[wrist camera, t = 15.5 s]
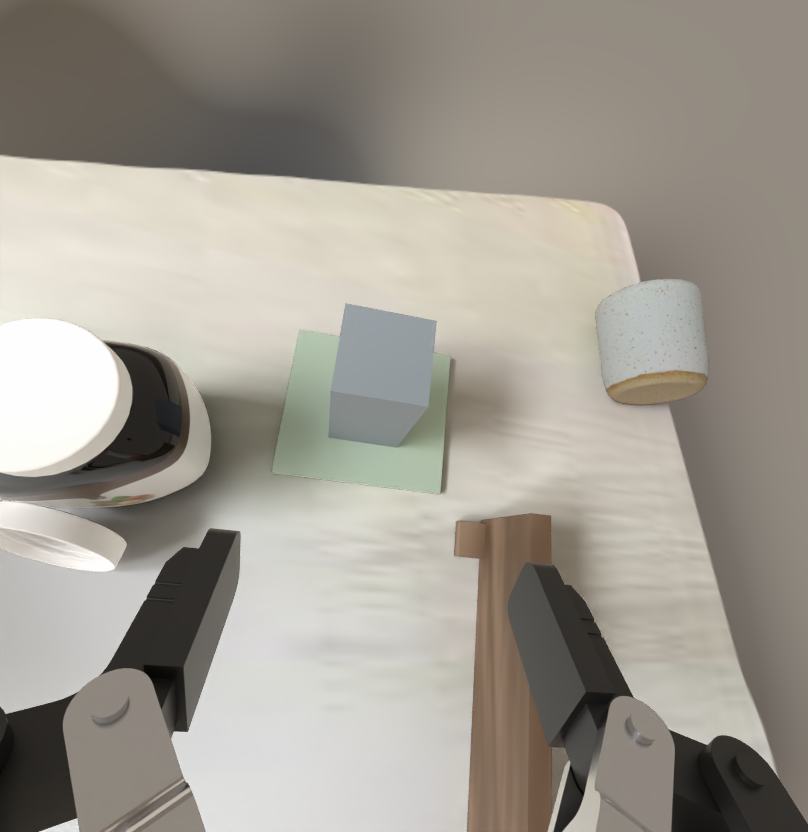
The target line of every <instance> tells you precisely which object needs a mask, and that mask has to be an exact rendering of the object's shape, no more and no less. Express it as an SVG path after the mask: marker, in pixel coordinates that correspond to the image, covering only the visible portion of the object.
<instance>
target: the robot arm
mask: <svg viewBox="0 0 808 832" xmlns="http://www.w3.org/2000/svg"><path fill="white" fill-rule="evenodd" d="M239 570H240V531H231V530H221V529H212V528H211V529H209V530H208V532H207V534H206V536H205V538H204V540H203V542H202V544H201V546H200V548H199V549H198V548H188V547H183V548H182V549H181V550H180V551H178V552H177V553H176V554H175V555H174V556H173V557H172V558H170V559H169V560H168V561H167V562H166V563H165V565H164V567H163V568H162V570H161V572H160V574H159V576H158V577H157V579H156V582H155V585H153V586H152V588H151V590H150V592H149V594H148V595H147V599H146V601H144V603H143V604H142V606H141V608H140V610H139V612H138V613H137V615H136V617H135V619H134V621H133V622H132V624H131V626H130V628H129V630H128V631H127V633H126V635H125V637H124V639H123V640H122V642H121V644H120V646H119V648H118V649H117V651H116V653H115V655H114V657H113V658H112V660H111V662H110V663H109V665H108V666H107V668H106V669H105V670H104V671H103V673H102V674H101V675H100V676H98V677H97V678H95V679H93V680H92V681H91V682H89V683H88V684H87V685H85V686H84V687H83V688H82V689H81V690H80V691H79V692H77V693H75V694H73V695H71V696H69V697H67V698H64V699H62V700H59V701H55V702H52V703H48V704H44V705H40V706H36V707H32V708H28V709H24V710H20V711H17V712H13V713H9V714H5V713H4V711H3V709H2V708H1V707H0V832H39V831H42V830H45V829H48V828H50V827H53V826H56V825H59V824H62V823H64V822H67V821H70V820H73V819H76V818H77V819H78V825H79V831H80V832H206V831H205V828H204V825H203V822H202V819H201V816H200V813H199V810H198V807H197V804H196V801H195V799H194V796H193V793H192V791H191V789H190V786H189V785H188V783H186V782H185V780H184V777H183V775H182V772H181V769H180V766H179V763H178V760H177V757H176V754H175V751H174V747H173V744H172V741H171V737H172V734H173V731H179V732H188V730H189V727H190V724H191V721H192V718H193V715H194V712H195V709H196V706H197V703H198V700H199V698H200V695H201V692H202V689H203V686H204V683H205V680H206V677H207V674H208V671H209V668H210V666H211V663H212V660H213V657H214V654H215V651H216V648H217V645H218V642H219V639H220V636H221V634H222V631H223V628H224V625H225V622H226V619H227V616H228V613H229V610H230V607H231V604H232V602H233V599H234V596H235V592H236V588H237V584H238V579H239ZM508 617H509V621H510V625H511V628H512V631H513V634H514V638H515V641H516V644H517V647H518V650H519V654H520V657H521V660H522V663H523V667H524V670H525V673H526V676H527V680H528V683H529V686H530V689H531V693H532V696H533V699H534V702H535V705H536V709H537V712H538V715H539V718H540V722H541V725H542V728H543V731H544V735H545V738H546V741H547V744H548V747H565V748H566V751H567V754H568V757H569V759H568V761H567V762H566V764H565V767H564V771H563V775H562V779H561V782H560V786H559V790H558V794H557V798H556V801H555V805H554V809H553V813H552V817H551V821H550V824H549V828H548V832H808V824H807V823H806V821H805V819H804V818H803V816H802V815H801V813H800V812H799V810H798V808H797V807H796V805H795V804H794V802H793V801H792V799H791V797H790V796H789V794H788V793H787V791H786V789H785V788H784V786H783V785H782V783H781V782H780V780H779V779H778V777H777V775H776V774H775V773H774V771H773V770H772V768H771V767H770V766H769V765H768V763H767V762H766V761H765V760H764V759H763V758H762V757H761V756H760V755H759V754H758V753H757V752H756V751H754V750H753V749H752V748H751V747H749V746H748V745H746V744H745V743H743V742H742V741H740V740H738V739H736V738H733V737H730V736H725V735H721V736H717V737H716V738H714V739H713V740H712V741H711V742H710V743H709V744H708V745H705V744H703V743H700V742H698V741H695V740H693V739H690V738H688V737H685V736H683V735H680V734H678V733H676V732H673V731H671V730H669V729H668V728H667V726H666V725H665V723H664V722H663V721H662V719H661V718H660V717H659V716H658V715H657V714H656V712H655V711H653V710H652V709H651V708H650V707H649V706H647V705H646V704H645V703H643V702H641V701H639V700H637V699H635V698H634V697H633V695H632V693H631V691H630V689H629V688H628V686H627V684H626V682H625V680H624V678H623V676H622V674H621V672H620V670H619V668H618V666H617V664H616V662H615V660H614V658H613V656H612V654H611V652H610V650H609V648H608V646H607V644H606V642H605V640H604V638H602V637H601V632H600V630H599V628H598V626H597V624H596V623H594V618H593V616H592V614H591V612H590V610H589V608H588V606H587V604H586V602H585V601H584V600H583V599H582V598H581V597H580V595H579V594H578V593H577V592H576V591H575V590H574V589H573V588H572V586H571V585H564V583H563V581H562V579H561V576H560V574H559V572H558V570H557V568H556V567H555V566H554V565H550V564H541V563H531V562H527V563H525V565H524V566H523V568H522V570H521V572H520V575H519V577H518V579H517V581H516V583H515V585H514V588H513V590H512V592H511V594H510V596H509V600H508Z"/></svg>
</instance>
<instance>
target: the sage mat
mask: <svg viewBox="0 0 808 832" xmlns="http://www.w3.org/2000/svg"><path fill="white" fill-rule="evenodd" d="M339 339H340V337H339V336H333V335H328V334H322V333H316V332H311V331H305V330H299V333H298V339H297V344H296V349H295V354H294V359H293V364H292V369H291V374H290V379H289V384H288V389H287V394H286V400H285V405H284V410H283V415H282V420H281V425H280V430H279V435H278V440H277V445H276V450H275V455H274V460H273V466H272V471H271V472H272V473H275V474H282V475H290V476H298V477H306V478H314V479H322V480H330V481H338V482H346V483H353V484H361V485H369V486H377V487H385V488H393V489H401V490H409V491H417V492H424V493H432V494H440V491H441V478H442V465H443V451H444V438H445V425H446V411H447V398H448V384H449V371H450V358H451V356H447V355H442V354H436V353H433V364H432V374H431V384H430V395H429V405H428V408H427V409H426V411H425V412H424V413H423V414H422V416H421V417H420V418H419V419H418V421H417V422H416V423H415V425H414V426H413V427H412V428H411V430H410V431H409V432H408V434H407V435H406V436H405V437H404V439H403V440H402V441H401V443H400V444H399V445H398V446H397V448H395V447H389V446H382V445H375V444H368V443H362V442H355V441H348V440H341V439H335V438H328V432H329V412H330V393H331V386H332V380H333V374H334V368H335V362H336V356H337V351H338V345H339Z"/></svg>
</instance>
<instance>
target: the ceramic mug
mask: <svg viewBox="0 0 808 832" xmlns="http://www.w3.org/2000/svg"><path fill="white" fill-rule="evenodd" d="M595 319H596V325H597V335H598V343H599V350H600V357H601V368H602V376H603V382H604V385H605V389H606V391H607V393H608V395H609V396H610V397H611V398H613V399H614V400H616V401H618V402H621V403H625V404H656V403H665V402H671V401H675V400H680V399H684V398H687V397H689V396H692V395H694V394H696V393H697V392H699V391H700V390H702V389H703V388H704V386H705V385H706V383H707V379H708V353H707V346H706V340H705V329H704V317H703V306H702V296H701V292H700V290H699V288H698V287H697V286H696V285H695V284H693V283H691V282H688V281H684V280H678V279H660V280H650V281H645V282H641V283H638V284H635V285H631V286H628V287H625V288H623V289H621V290H619V291H617V292H615V293H613V294H612V295H610V296H608V297H607V298H605V299H604V300H603V301H602V302H601V303H600V304H599V306H598V307H597V309H596V312H595Z"/></svg>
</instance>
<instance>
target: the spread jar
mask: <svg viewBox="0 0 808 832" xmlns="http://www.w3.org/2000/svg"><path fill="white" fill-rule="evenodd" d="M210 452H211V429H210V422H209V417H208V413H207V410H206V407H205V404H204V402H203V399H202V397H201V395H200V393H199V391H198V389H197V388H196V386H195V385H194V383H193V382H192V381H191V379H190V378H189V377H188V376H187V374H186V373H185V372H184V371H183V370H182V369H181V368H180V367H179V366H178V365H177V364H176V363H175V362H174V361H173V360H171V359H170V358H169V357H167V356H165V355H164V354H162V353H160V352H158V351H156V350H153V349H150V348H148V347H144V346H139V345H134V344H130V343H124V342H117V341H106V340H101V339H99V338H98V337H97V336H95V335H94V334H93V333H92V332H90V331H88V330H86V329H84V328H82V327H80V326H78V325H76V324H72V323H69V322H65V321H62V320H55V319H46V318H39V319H24V320H19V321H14V322H9V323H6V324H3V325H0V498H1V499H5V500H9V501H0V549H2V550H4V551H7V552H10V553H13V554H16V555H19V556H22V557H25V558H29V559H32V560H36V561H39V562H43V563H47V564H52V565H56V566H61V567H66V568H71V569H77V570H84V571H95V572H107V571H112V570H115V568H116V566H117V564H118V562H119V561H120V559H121V557H122V555H123V553H124V551H125V549H126V547H127V543H126V541H125V540H124V539H123V538H122V537H121V536H119V535H118V534H117V533H115V532H113V531H111V530H110V529H108V528H106V527H104V526H102V525H99V524H97V523H95V522H92V521H90V520H87V519H85V518H82V517H79V516H76V515H73V514H70V513H66V512H63V511H60V510H56V509H52V508H48V507H44V506H50V507H62V508H103V507H117V506H125V505H132V504H138V503H143V502H148V501H152V500H155V499H158V498H161V497H164V496H166V495H169V494H171V493H174V492H176V491H178V490H180V489H182V488H184V487H186V486H188V485H190V484H191V483H193V482H194V481H196V480H197V479H198V478H199V477H200V476H202V475H203V473H204V471H205V470H206V468H207V466H208V463H209V459H210ZM12 501H13V502H12ZM39 505H42V506H39Z"/></svg>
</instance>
